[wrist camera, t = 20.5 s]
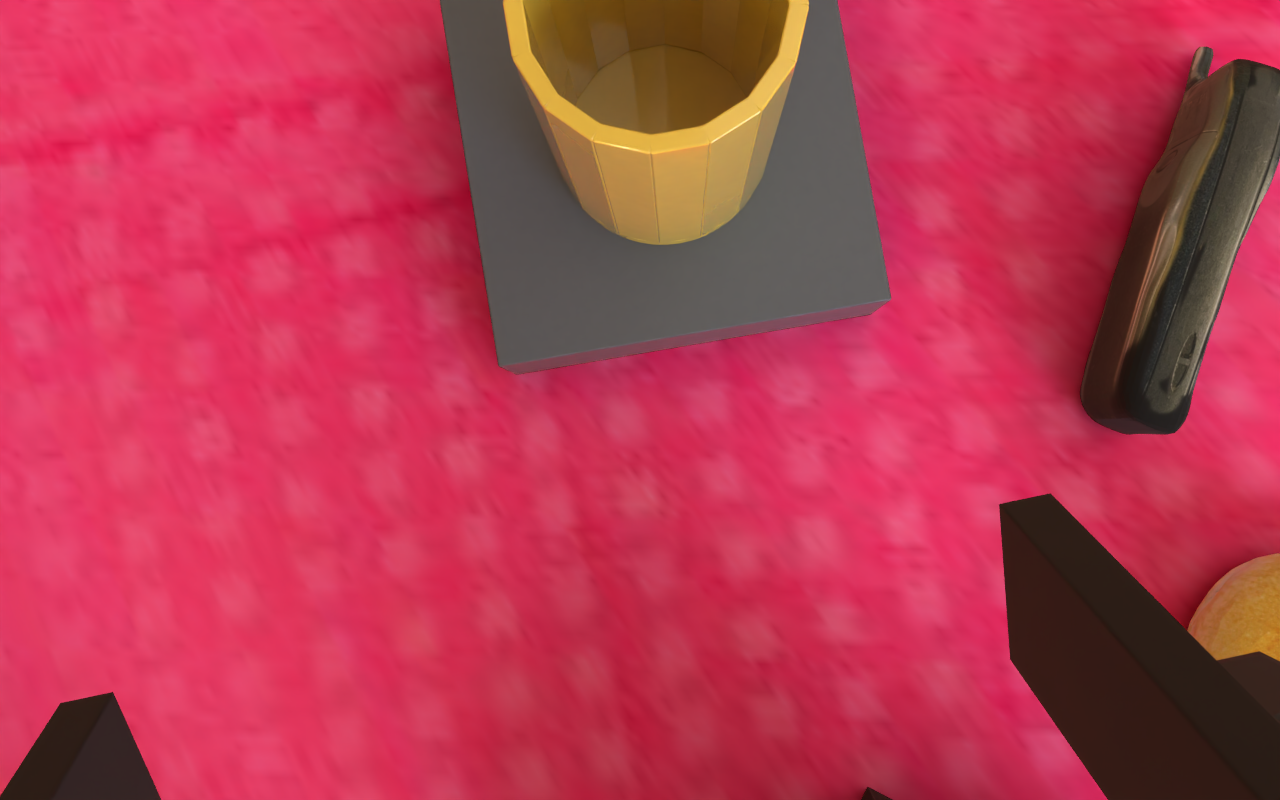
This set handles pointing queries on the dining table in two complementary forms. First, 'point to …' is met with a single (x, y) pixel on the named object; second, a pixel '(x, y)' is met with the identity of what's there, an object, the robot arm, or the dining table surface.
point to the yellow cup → (658, 103)
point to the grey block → (663, 274)
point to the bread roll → (1242, 611)
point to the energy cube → (873, 795)
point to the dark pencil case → (1183, 247)
